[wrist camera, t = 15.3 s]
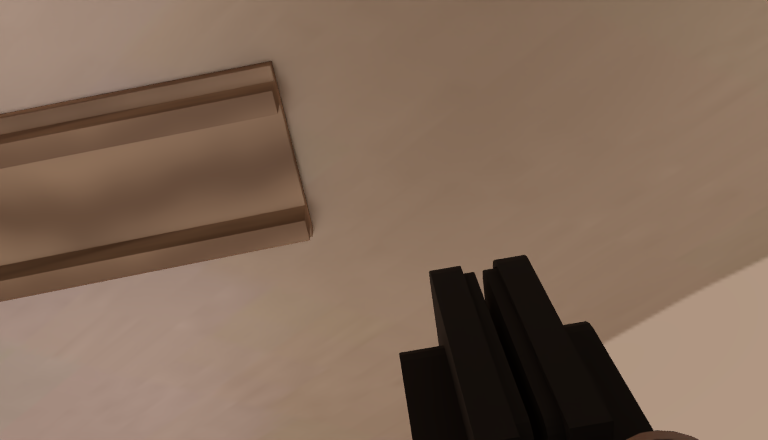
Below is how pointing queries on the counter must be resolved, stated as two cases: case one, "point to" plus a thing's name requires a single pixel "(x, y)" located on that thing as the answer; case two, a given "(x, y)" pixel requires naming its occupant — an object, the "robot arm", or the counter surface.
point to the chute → (146, 181)
